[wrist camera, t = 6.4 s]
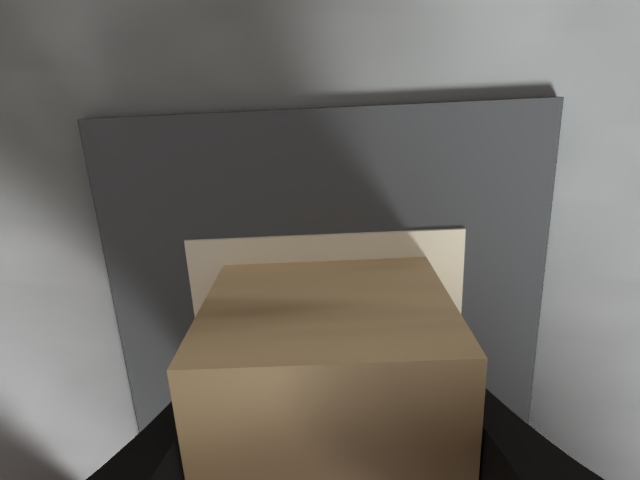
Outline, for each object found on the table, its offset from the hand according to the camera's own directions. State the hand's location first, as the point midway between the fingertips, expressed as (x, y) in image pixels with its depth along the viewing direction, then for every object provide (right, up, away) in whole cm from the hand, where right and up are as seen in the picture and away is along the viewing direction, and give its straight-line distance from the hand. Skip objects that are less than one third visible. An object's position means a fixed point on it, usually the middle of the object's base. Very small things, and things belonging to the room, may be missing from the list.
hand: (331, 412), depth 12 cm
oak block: (0, +1, +2) cm, 2 cm away
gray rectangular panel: (0, +1, +3) cm, 3 cm away
